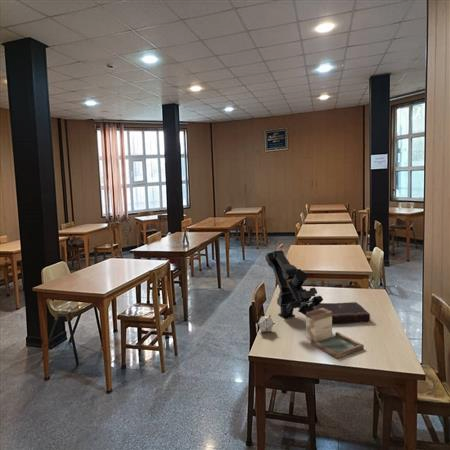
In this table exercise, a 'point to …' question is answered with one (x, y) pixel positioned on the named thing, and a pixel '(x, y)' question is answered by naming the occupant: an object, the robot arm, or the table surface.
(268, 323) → the white spiky ball
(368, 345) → the table surface
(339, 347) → the felt tray
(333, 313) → the diary
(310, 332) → the maple block
